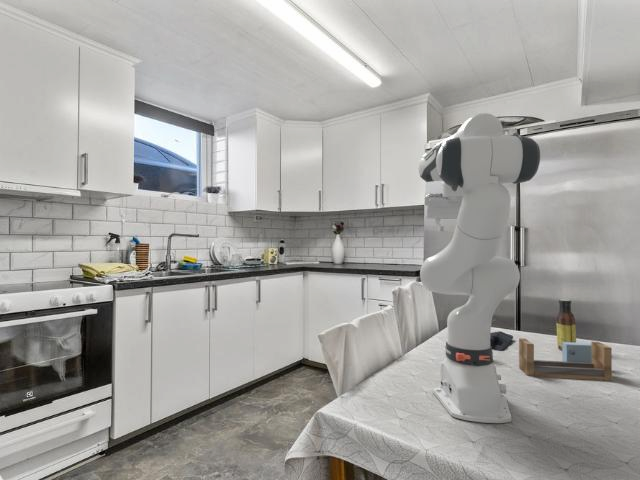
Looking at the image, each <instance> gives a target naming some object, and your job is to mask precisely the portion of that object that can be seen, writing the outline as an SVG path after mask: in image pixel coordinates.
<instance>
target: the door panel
mask: <svg viewBox="0 0 640 480" xmlns="http://www.w3.org/2000/svg"><path fill="white" fill-rule="evenodd" d="M561 352H562V353H561V354H562V355H561V356H562V357H561V358H562V361H563V362H582V363H592V358H591V342H576V343H573V342H562V350H561Z"/></svg>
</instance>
